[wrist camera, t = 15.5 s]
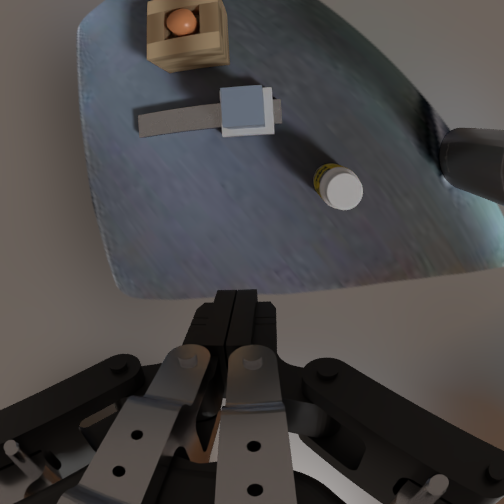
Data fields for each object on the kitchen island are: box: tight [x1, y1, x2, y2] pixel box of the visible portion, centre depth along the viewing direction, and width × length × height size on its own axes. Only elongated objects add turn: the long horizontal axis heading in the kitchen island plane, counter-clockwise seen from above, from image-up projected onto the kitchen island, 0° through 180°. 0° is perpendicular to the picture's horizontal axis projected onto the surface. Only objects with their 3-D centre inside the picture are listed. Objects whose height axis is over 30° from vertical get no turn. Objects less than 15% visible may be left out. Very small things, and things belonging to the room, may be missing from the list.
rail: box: [138, 99, 282, 138], centre depth 35 cm, size 18×3×2 cm, turn 93°
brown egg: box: [167, 9, 200, 37], centre depth 26 cm, size 3×3×3 cm
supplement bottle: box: [313, 163, 363, 210], centre depth 34 cm, size 5×5×8 cm
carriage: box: [219, 85, 275, 137], centre depth 31 cm, size 6×6×9 cm
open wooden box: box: [147, 0, 230, 73], centre depth 28 cm, size 8×8×8 cm
